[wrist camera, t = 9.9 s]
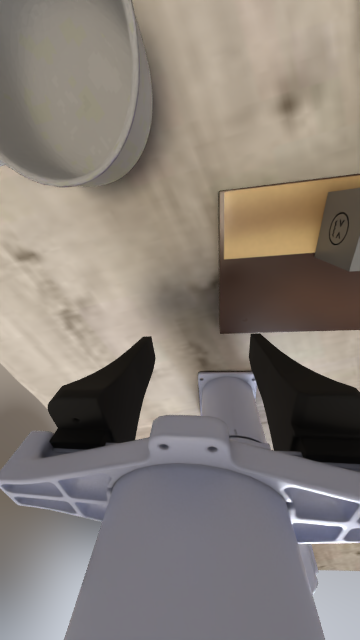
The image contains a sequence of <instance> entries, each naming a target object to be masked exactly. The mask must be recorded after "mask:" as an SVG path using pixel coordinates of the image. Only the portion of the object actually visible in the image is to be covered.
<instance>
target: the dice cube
mask: <svg viewBox="0 0 360 640" xmlns="http://www.w3.org/2000/svg"><path fill="white" fill-rule="evenodd" d="M314 257H316V258H318V259H320V260H323V261H325V262H328V263H330V264H332V265H335V266H337V267H339V268H342V269H344V270H346V271H349V272H350V271H360V188H354V189H347V190H340V191H333V192H328V195H327V200H326V204H325V209H324V214H323V218H322V223H321V228H320V232H319V237H318V242H317V246H316V251H315V256H314Z"/></svg>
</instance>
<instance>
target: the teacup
mask: <svg viewBox="0 0 360 640" xmlns="http://www.w3.org/2000/svg"><path fill="white" fill-rule="evenodd" d="M152 107H153V104H152V84H151V76H150V70H149V65H148V60H147V56H146V51H145V47H144V44H143V40H142V36H141V33H140V29H139V26H138V23H137V20H136V17H135V13H134V8H133V3H132V0H0V166H3V165H6V166H8V167H9V168H11V169H13V170H14V171H16V172H17V173H19V174H20V175H22V176H24V177H26V178H28V179H31V180H33V181H35V182H37V183H41V184H44V185H49V186H55V187H72V186H83V187H89V186H102V185H106V184H110V183H112V182H115V181H117V180H119V179H120V178H122V177H123V176H124V175H126V174H127V173H128V172H129V171H130V170H131V169H132V168H133V167H134V165H135V164H136V163H137V161H138V160H139V158H140V156H141V154H142V152H143V150H144V148H145V145H146V143H147V139H148V135H149V132H150V127H151V121H152Z"/></svg>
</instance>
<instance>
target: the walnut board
mask: <svg viewBox="0 0 360 640" xmlns="http://www.w3.org/2000/svg"><path fill="white" fill-rule="evenodd" d="M354 188H360V174H354V175H346V176H338V177H329V178H321V179H313V180H305V181H297V182H289V183H280V184H272V185H264V186H256V187H248V188H240V189H231V190H223V191H219V192H218V221H219V329H220V334H229V333H264V332H300V331H335V330H360V271H350V272H349V271H346V270H344V269H342V268H339V267H337V266H335V265H332V264H330V263H328V262H325V261H323V260H320V259H318V258H316V257H314V256H315V251H316V246H317V242H318V237H319V232H320V228H321V223H322V218H323V214H324V209H325V204H326V200H327V195H328V192H333V191H340V190H347V189H354Z"/></svg>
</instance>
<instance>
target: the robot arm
mask: <svg viewBox="0 0 360 640" xmlns="http://www.w3.org/2000/svg"><path fill="white" fill-rule="evenodd" d="M249 360H250V365H251V369H252V372H200V373H198V385H199V398H200V412H201V416H191V415H164V416H159V417H158V418H157V419H155V420H154V421H153V425H152V429H151V433H150V437H149V438H144V439H139V440H135V437H136V431H137V426H138V421H139V416H140V411H141V407H142V402H143V399H144V395H145V392H146V389H147V387H148V384H149V381H150V378H151V375H152V372H153V369H154V364H155V353H154V348H153V343H152V338H151V337H142V338H141V339H140V340H139V341H138V342H137V343H136V344H135V345H133V346H132V347H131V348H130V349H129V350H128V351H126V352H125V353H124V354H123V355H121V356H120V357H119V358H118V359H116V360H115V361H113V362H112V363H110V364H109V365H107V366H106V367H104V368H102V369H100V370H99V371H97V372H95V373H93V374H91V375H89V376H87V377H85V378H82V379H80V380H78V381H75V382H72V383H70V384H67V385H64V386H62V387H61V388H60V390H59V391H58V392H57V393H56V395H55V396H54V397H53V398H52V400H51V401H50V402H49V404H48V411H49V414H50V416H51V417H52V419H53V421H54V422H55V424H56V426H57V427H58V429H57V431H56V432H55V433H52V432H49V431H31V432H30V433H29V435H28V436H27V437H26V439H25V440H24V441H23V442H22V444H21V445H20V446H19V447H18V449H17V450H16V451H15V453H14V454H13V455H12V456H11V458H10V459H9V460H8V461H7V463H6V464H5V466H4V467H3V468H2V469H1V471H0V489H1V490H2V491H3V492H5V493H6V494H7V495H8V496H9V497H10V498H11V499H12V500H13V501H14V502H15V503H16V504H17V505H21V506H29V507H37V508H42V509H49V510H53V511H58V512H63V513H67V514H71V515H75V516H80V517H84V518H88V519H92V520H97V521H101V522H102V524H101V528H100V530H99V533H98V536H97V540H96V543H95V546H94V549H93V552H92V555H91V558H90V561H89V564H88V568H87V570H86V573H85V577H84V580H83V583H82V586H81V589H80V592H79V595H78V598H77V601H76V604H75V608H74V611H73V614H72V617H71V620H70V623H69V626H68V629H67V632H66V635H65V638H64V640H325V638H324V634H323V630H322V627H321V623H320V620H319V616H318V613H317V609H316V606H315V602H314V599H313V594H314V592H315V590H316V588H317V586H318V580H317V577H316V575H317V574H318V568H317V564H316V560H315V557H314V553H313V549H312V545H311V544H315V543H360V392H359V391H358V390H357V389H356V388H354V387H351V386H348V385H346V384H343V383H340V382H337V381H334V380H332V379H329V378H327V377H325V376H322V375H320V374H318V373H316V372H314V371H312V370H310V369H308V368H306V367H304V366H302V365H301V364H299V363H297V362H296V361H294V360H293V359H291V358H289V357H288V356H287V355H285V354H284V353H283V352H281V351H280V350H279V349H277V348H276V347H275V346H274V345H272V344H271V343H270V342H269V341H268V340H267V339H266V338H264V337H263V336H262V335H261V334H260V333H259V334H251V337H250V349H249ZM201 378H203V379H201ZM252 378H254V379H252ZM257 386H258V389H259V391H260V394H261V397H262V400H263V404H264V408H265V412H266V416H267V420H268V425H269V429H270V434H271V438H272V443H273V448H274V450H271V449H270V445H269V444H268V443H267V442H266V438H265V434H264V431H263V427H262V423H261V420H260V416H259V412H258V409H257V405H256V402H255V397H256V388H257Z"/></svg>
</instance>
